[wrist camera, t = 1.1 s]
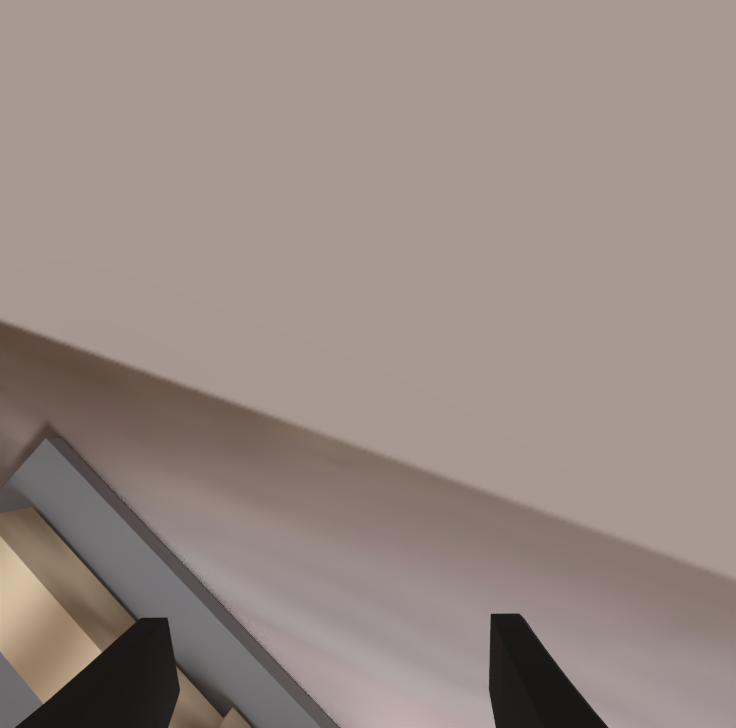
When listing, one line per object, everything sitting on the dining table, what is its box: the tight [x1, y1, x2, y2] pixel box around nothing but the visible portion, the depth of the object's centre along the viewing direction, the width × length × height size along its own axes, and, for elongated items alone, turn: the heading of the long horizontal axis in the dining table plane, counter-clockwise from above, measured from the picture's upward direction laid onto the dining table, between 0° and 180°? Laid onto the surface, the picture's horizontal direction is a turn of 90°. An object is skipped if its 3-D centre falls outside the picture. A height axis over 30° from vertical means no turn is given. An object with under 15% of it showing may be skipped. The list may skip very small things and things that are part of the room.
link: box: [0, 507, 251, 728], centre depth 20 cm, size 16×4×2 cm, turn 49°
